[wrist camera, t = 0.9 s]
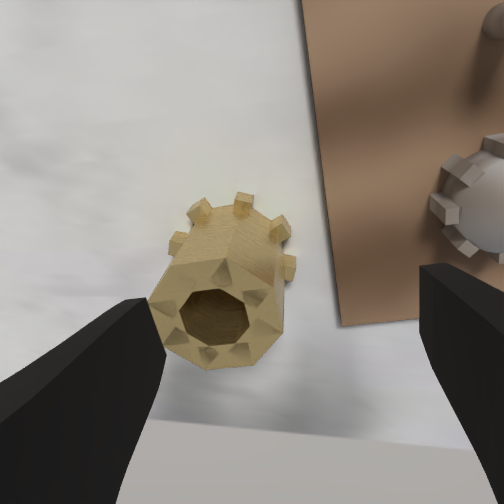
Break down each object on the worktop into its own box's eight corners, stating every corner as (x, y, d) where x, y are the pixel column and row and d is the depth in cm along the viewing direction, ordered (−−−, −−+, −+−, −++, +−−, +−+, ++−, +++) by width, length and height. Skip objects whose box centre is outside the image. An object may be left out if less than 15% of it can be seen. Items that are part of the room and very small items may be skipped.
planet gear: (302, 293, 21) (306, 372, 16) (194, 306, 22) (162, 384, 17) (283, 184, 18) (280, 233, 13) (162, 204, 19) (112, 258, 14)
